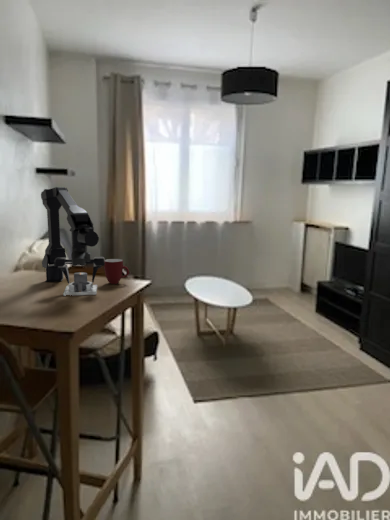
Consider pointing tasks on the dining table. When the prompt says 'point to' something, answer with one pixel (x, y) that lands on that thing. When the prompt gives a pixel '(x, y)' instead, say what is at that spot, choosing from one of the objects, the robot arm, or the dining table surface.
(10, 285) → the dining table surface
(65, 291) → the hub
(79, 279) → the knob
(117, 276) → the mug
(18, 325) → the dining table surface
